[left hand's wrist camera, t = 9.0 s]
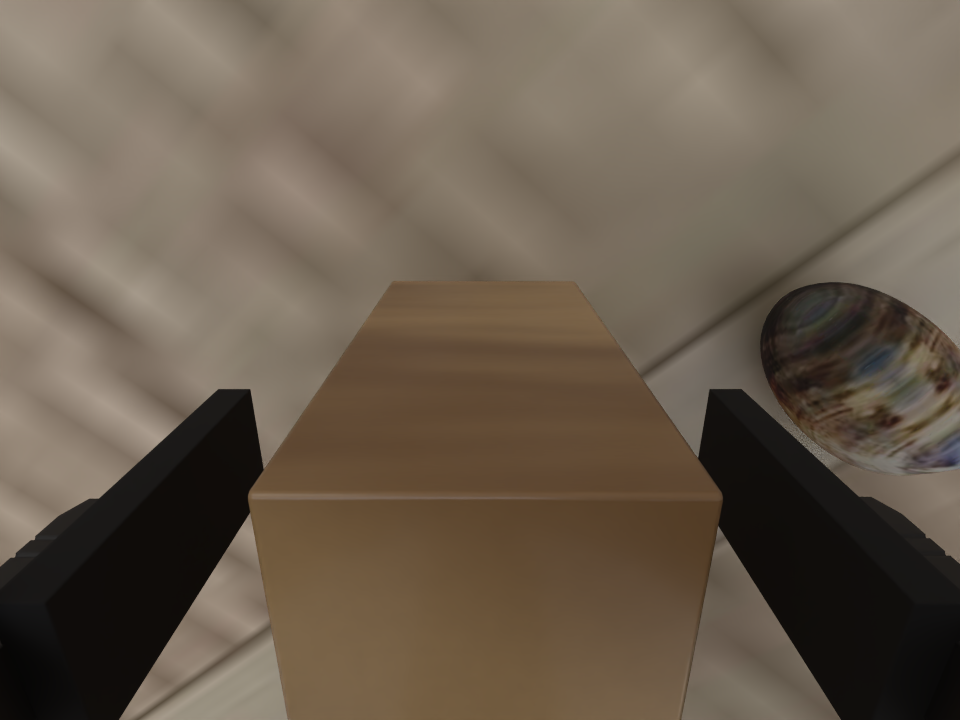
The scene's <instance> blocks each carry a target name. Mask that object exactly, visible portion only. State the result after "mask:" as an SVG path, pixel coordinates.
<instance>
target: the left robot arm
mask: <svg viewBox="0 0 960 720" xmlns="http://www.w3.org/2000/svg"><path fill="white" fill-rule="evenodd" d="M698 459H699V461H700V462H701V464H702V465H703V467H704V468H705V469H706V471H707V472H708V474H709V475H710V477H711V478H712V479H713V481H714V482H715V484H716V485H717V487H718V488H719V490H720V491H721V492H722V496H723V503H722V508H721V513H720V519H719V524H718V526H719V528H720V529H721V531H722V532H723V534H724V535H725V537H726V539H727V540H728V542H729V543H730V545H731V547H732V548H733V550H734V551H735V553H736V554H737V556H738V558H739V559H740V561H741V562H742V564H743V565H744V567H745V569H746V570H747V572H748V573H749V575H750V577H751V578H752V580H753V581H754V583H755V584H756V586H757V588H758V589H759V591H760V592H761V594H762V595H763V597H764V599H765V600H766V602H767V603H768V605H769V607H770V608H771V610H772V611H773V613H774V614H775V616H776V618H777V619H778V621H779V622H780V624H781V625H782V627H783V629H784V630H785V632H786V633H787V635H788V637H789V638H790V640H791V641H792V643H793V644H794V646H795V648H796V649H797V651H798V652H799V654H800V655H801V657H802V659H803V660H804V662H805V663H806V665H807V667H808V668H809V670H810V671H811V673H812V674H813V676H814V678H815V679H816V681H817V682H818V684H819V685H820V687H821V689H822V690H823V692H824V693H825V695H826V697H827V698H828V700H829V701H830V703H831V704H832V706H833V708H834V709H835V711H836V712H837V714H838V715H839V717H840V719H841V720H960V564H959V563H958V562H957V561H956V560H954V559H953V558H952V557H951V556H946V555H945V551H944V550H943V549H942V548H941V547H939V546H938V545H937V544H936V543H935V542H934V541H932V540H931V539H930V538H926V537H925V534H924V533H923V532H922V531H921V530H920V529H919V528H917V527H916V526H915V525H914V524H913V523H912V522H910V521H909V520H908V519H907V518H906V517H905V516H904V515H902V514H901V513H899V512H897V511H895V510H894V509H892V508H890V507H888V506H886V505H885V504H883V503H881V502H879V501H877V500H876V499H874V498H872V497H859V496H857V495H856V494H855V493H854V492H853V491H852V490H851V489H850V488H849V487H848V486H847V485H845V484H844V483H843V482H842V481H841V480H840V479H839V478H838V477H837V476H836V475H835V474H833V473H832V472H831V471H830V470H829V469H828V468H827V467H826V466H825V465H824V464H823V463H821V462H820V461H819V460H818V459H817V458H816V457H815V456H814V455H813V454H812V453H811V452H809V451H808V450H807V449H806V448H805V447H804V446H803V445H802V444H801V443H800V442H799V441H797V440H796V439H795V438H794V437H793V436H792V435H791V434H790V433H789V432H788V431H787V430H785V429H784V428H783V427H782V426H781V425H780V424H779V423H778V422H777V421H776V420H775V419H773V418H772V417H771V416H770V415H769V414H768V413H767V412H766V411H765V410H764V409H763V408H761V407H760V406H759V405H758V404H757V403H756V402H755V401H754V400H753V399H752V398H751V397H749V396H748V395H747V394H746V393H745V392H744V391H743V390H742V389H710V391H709V397H708V403H707V409H706V415H705V421H704V427H703V433H702V439H701V445H700V451H699V457H698ZM263 470H264V469H263V463H262V457H261V451H260V445H259V439H258V433H257V427H256V421H255V415H254V409H253V403H252V397H251V391H250V389H218V390H217V391H216V392H215V393H214V394H213V395H212V396H211V397H209V398H208V399H207V400H206V401H205V402H204V403H203V404H202V405H201V406H200V407H199V408H197V409H196V410H195V411H194V412H193V413H192V414H191V415H190V416H189V417H188V418H187V419H185V420H184V421H183V422H182V423H181V424H180V425H179V426H178V427H177V428H176V429H175V430H173V431H172V432H171V433H170V434H169V435H168V436H167V437H166V438H165V439H164V440H163V441H161V442H160V443H159V444H158V445H157V446H156V447H155V448H154V449H153V450H152V451H151V452H149V453H148V454H147V455H146V456H145V457H144V458H143V459H142V460H141V461H140V462H139V463H137V464H136V465H135V466H134V467H133V468H132V469H131V470H130V471H129V472H128V473H127V474H125V475H124V476H123V477H122V478H121V479H120V480H119V481H118V482H117V483H116V484H115V485H113V486H112V487H111V488H110V489H109V490H108V491H107V492H106V493H105V494H104V495H103V496H101V497H100V498H99V499H88V500H86V501H85V502H83V503H81V504H79V505H77V506H76V507H74V508H72V509H70V510H69V511H67V512H65V513H63V514H61V515H60V516H58V517H57V518H56V519H55V520H54V521H52V522H51V523H50V524H49V525H48V526H47V527H45V528H44V529H43V530H42V531H41V532H40V533H39V534H37V535H36V536H35V537H36V538H35V540H31V541H29V542H28V543H27V544H26V545H25V546H24V547H23V548H21V549H20V550H19V551H18V552H17V553H16V556H15V558H10V559H9V560H8V561H6V562H5V563H4V564H3V565H2V566H1V567H0V720H119V719H120V717H121V715H122V714H123V712H124V711H125V709H126V708H127V706H128V704H129V703H130V701H131V700H132V698H133V696H134V695H135V693H136V692H137V690H138V689H139V687H140V685H141V684H142V682H143V681H144V679H145V678H146V676H147V674H148V673H149V671H150V670H151V668H152V666H153V665H154V663H155V662H156V660H157V659H158V657H159V655H160V654H161V652H162V651H163V649H164V648H165V646H166V644H167V643H168V641H169V640H170V638H171V636H172V635H173V633H174V632H175V630H176V629H177V627H178V625H179V624H180V622H181V621H182V619H183V618H184V616H185V614H186V613H187V611H188V610H189V608H190V607H191V605H192V603H193V602H194V600H195V599H196V597H197V595H198V594H199V592H200V591H201V589H202V588H203V586H204V584H205V583H206V581H207V580H208V578H209V577H210V575H211V573H212V572H213V570H214V569H215V567H216V565H217V564H218V562H219V561H220V559H221V558H222V556H223V554H224V553H225V551H226V550H227V548H228V547H229V545H230V543H231V542H232V540H233V539H234V537H235V535H236V534H237V532H238V531H239V529H240V528H241V526H242V524H243V523H244V521H245V520H246V518H247V517H248V515H249V513H250V508H249V502H248V494H249V491H250V489H251V488H252V487H253V485H254V484H255V482H256V481H257V479H258V478H259V476H260V475H261V473H262V472H263Z"/></svg>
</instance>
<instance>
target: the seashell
mask: <svg viewBox="0 0 960 720" xmlns="http://www.w3.org/2000/svg"><path fill="white" fill-rule="evenodd" d="M761 358H762V364H763V368H764V371H765V375H766V378H767V380H768V383H769V385H770V387H771V389H772V391H773V393H774V395H775V397H776V399H777V400H778V402H779V403H780V405H781V406H782V408H783V409H784V411H785V412H786V413H787V415H788V416H789V417H790V418H791V420H792V421H793V422H794V423H795V424H796V425H797V426H798V427H799V428H800V429H801V431H802V432H804V433H805V434H806V435H807V436H808V437H809V438H810V439H811V440H813V441H814V442H815V443H816V444H818V445H819V446H820V447H821V448H823V449H824V450H826V451H827V452H829V453H830V454H832V455H834V456H835V457H837V458H839V459H841V460H842V461H844V462H847V463H849V464H851V465H853V466H856V467H858V468H861V469H864V470H867V471H871V472H875V473H880V474H887V475H900V476H904V475H918V474H926V473H937V472H943V471H949V470H956V469H960V350H959V348H958V347H957V346H956V345H955V344H954V343H953V342H952V341H951V339H950V338H949V337H948V336H947V335H946V334H945V333H943V332H942V331H941V330H940V329H939V328H938V327H937V326H936V325H935V324H933V323H932V322H931V321H930V320H928V319H927V318H926V317H924V316H923V315H922V314H920V313H919V312H917V311H916V310H914V309H913V308H911V307H910V306H908V305H906V304H904V303H903V302H901V301H899V300H897V299H895V298H893V297H891V296H889V295H887V294H884V293H882V292H880V291H877V290H874V289H871V288H868V287H864V286H861V285H856V284H850V283H841V282H829V283H819V284H813V285H808V286H805V287H802V288H799V289H796V290H794V291H792V292H790V293H789V294H787V295H786V296H784V297H783V298H781V299H780V300H779V301H778V302H777V303H776V304H775V306H774V307H773V309H772V310H771V312H770V313H769V315H768V316H767V318H766V321H765V323H764V326H763V330H762V334H761Z"/></svg>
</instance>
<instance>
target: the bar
mask: <svg viewBox="0 0 960 720" xmlns="http://www.w3.org/2000/svg"><path fill="white" fill-rule="evenodd" d="M248 502H249V508H250V513H251V519H252V524H253V530H254V535H255V541H256V546H257V552H258V557H259V563H260V568H261V574H262V579H263V585H264V590H265V596H266V601H267V607H268V612H269V618H270V623H271V629H272V634H273V640H274V645H275V651H276V656H277V662H278V667H279V673H280V678H281V684H282V689H283V695H284V700H285V705H286V711H287V716H288V720H681V718H682V712H683V707H684V702H685V697H686V691H687V686H688V681H689V676H690V670H691V665H692V660H693V655H694V650H695V644H696V639H697V634H698V629H699V623H700V618H701V613H702V608H703V602H704V597H705V592H706V587H707V581H708V576H709V571H710V566H711V560H712V555H713V550H714V545H715V539H716V534H717V529H718V524H719V519H720V513H721V508H722V503H723V496H722V492H721V491H720V490H719V488H718V487H717V485H716V484H715V482H714V481H713V479H712V478H711V477H710V475H709V474H708V472H707V471H706V469H705V468H704V467H703V465H702V464H701V462H700V461H699V459H698V458H697V457H696V455H695V454H694V452H693V451H692V449H691V448H690V446H689V445H688V444H687V442H686V441H685V439H684V438H683V436H682V435H681V434H680V432H679V431H678V429H677V428H676V426H675V425H674V424H673V422H672V421H671V419H670V418H669V416H668V415H667V414H666V412H665V411H664V409H663V408H662V406H661V405H660V403H659V402H658V401H657V399H656V398H655V396H654V395H653V393H652V392H651V391H650V389H649V388H648V386H647V385H646V383H645V382H644V381H643V379H642V378H641V376H640V375H639V373H638V372H637V371H636V369H635V368H634V366H633V365H632V363H631V362H630V360H629V359H628V358H627V356H626V355H625V353H624V352H623V350H622V349H621V348H620V346H619V345H618V343H617V342H616V340H615V339H614V338H613V336H612V335H611V333H610V332H609V330H608V329H607V327H606V326H605V325H604V323H603V322H602V320H601V319H600V317H599V316H598V315H597V313H596V312H595V310H594V309H593V307H592V306H591V305H590V303H589V302H588V300H587V299H586V297H585V296H584V295H583V293H582V292H581V290H580V289H579V287H578V286H577V284H576V283H575V282H572V281H394V282H392V283H391V285H390V286H389V288H388V289H387V290H386V292H385V293H384V295H383V296H382V298H381V299H380V301H379V302H378V304H377V305H376V307H375V308H374V309H373V311H372V312H371V314H370V315H369V317H368V318H367V320H366V321H365V323H364V324H363V326H362V327H361V329H360V330H359V331H358V333H357V334H356V336H355V337H354V339H353V340H352V342H351V343H350V345H349V346H348V348H347V349H346V350H345V352H344V353H343V355H342V356H341V358H340V359H339V361H338V362H337V364H336V365H335V367H334V368H333V369H332V371H331V372H330V374H329V375H328V377H327V378H326V380H325V381H324V383H323V384H322V386H321V387H320V389H319V390H318V391H317V393H316V394H315V396H314V397H313V399H312V400H311V402H310V403H309V405H308V406H307V408H306V409H305V410H304V412H303V413H302V415H301V416H300V418H299V419H298V421H297V422H296V424H295V425H294V427H293V428H292V429H291V431H290V432H289V434H288V435H287V437H286V438H285V440H284V441H283V443H282V444H281V446H280V447H279V449H278V450H277V451H276V453H275V454H274V456H273V457H272V459H271V460H270V462H269V463H268V465H267V466H266V468H265V469H264V470H263V472H262V473H261V475H260V476H259V478H258V479H257V481H256V482H255V484H254V485H253V487H252V488H251V489H250V491H249V494H248Z"/></svg>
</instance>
